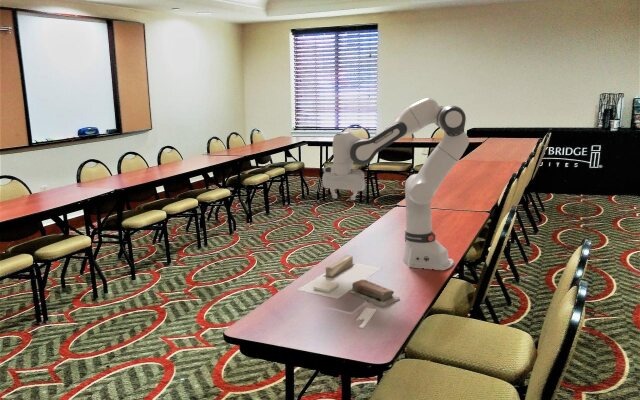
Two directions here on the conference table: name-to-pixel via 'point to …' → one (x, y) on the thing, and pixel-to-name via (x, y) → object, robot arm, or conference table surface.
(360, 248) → the conference table surface
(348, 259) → the long tan strip
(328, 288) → the tile
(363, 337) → the conference table surface
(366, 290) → the packaged product
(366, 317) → the white notched flat strip
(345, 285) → the mat
